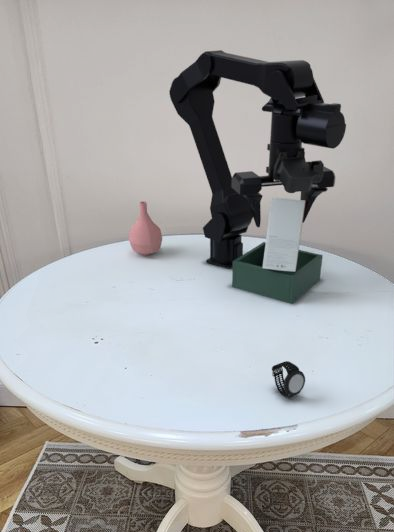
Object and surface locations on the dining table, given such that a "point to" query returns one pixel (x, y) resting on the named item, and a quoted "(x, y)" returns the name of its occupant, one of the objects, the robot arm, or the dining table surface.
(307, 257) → the green storage bin
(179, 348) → the dining table surface
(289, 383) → the smartwatch
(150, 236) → the pink vase
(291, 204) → the small box
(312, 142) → the robot arm
